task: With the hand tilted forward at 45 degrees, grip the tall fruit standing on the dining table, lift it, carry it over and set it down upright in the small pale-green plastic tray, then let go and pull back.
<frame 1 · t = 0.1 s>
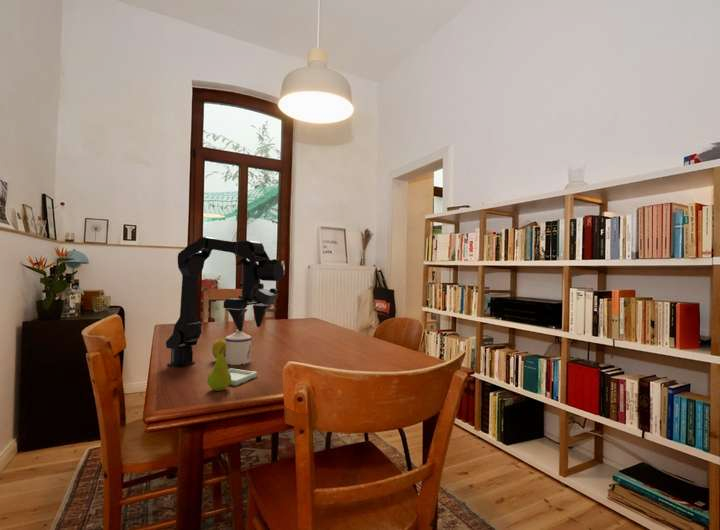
hand: (249, 328, 118), 15 cm above the table, tool pointing down, fingers open, 9 cm apart
tray: (233, 379, 113), on the table
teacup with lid: (237, 361, 134), on the table
fruit: (219, 390, 103), on the table
lemon: (220, 361, 134), on the table
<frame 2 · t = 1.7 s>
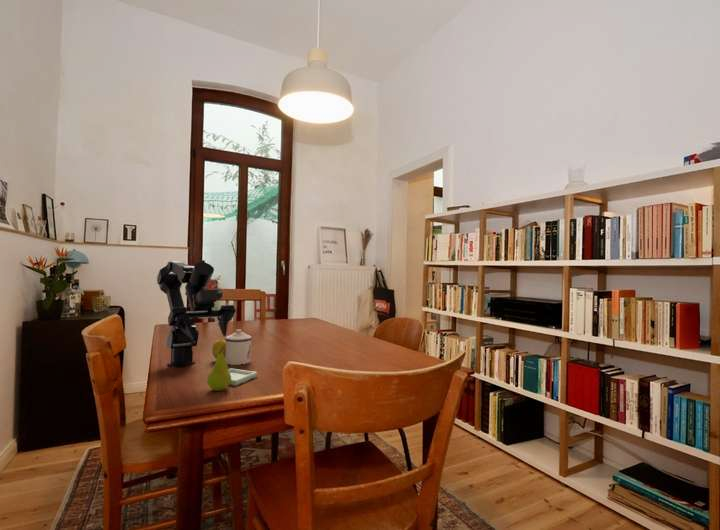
hand: (209, 337, 109), 13 cm above the table, tool tilted 45°, fingers open, 9 cm apart
nothing on the table moved.
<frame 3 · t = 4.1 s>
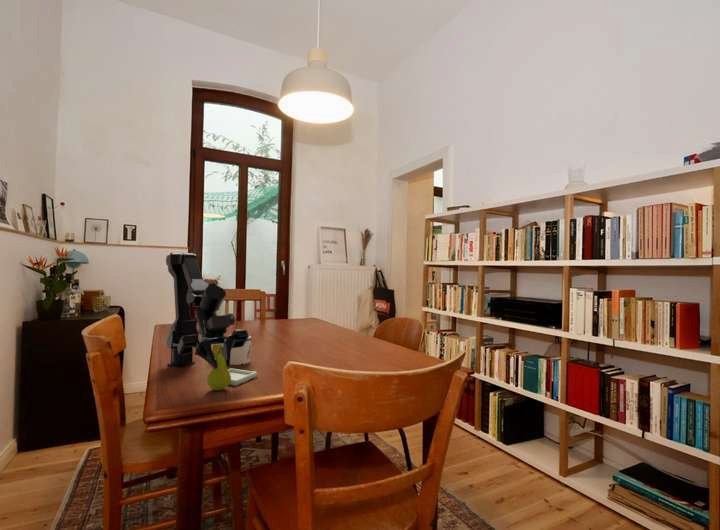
hand: (222, 366, 102), 7 cm above the table, tool tilted 45°, fingers closed on fruit, 3 cm apart
fruit: (219, 390, 103), on the table, touching gripper
everything else where it was.
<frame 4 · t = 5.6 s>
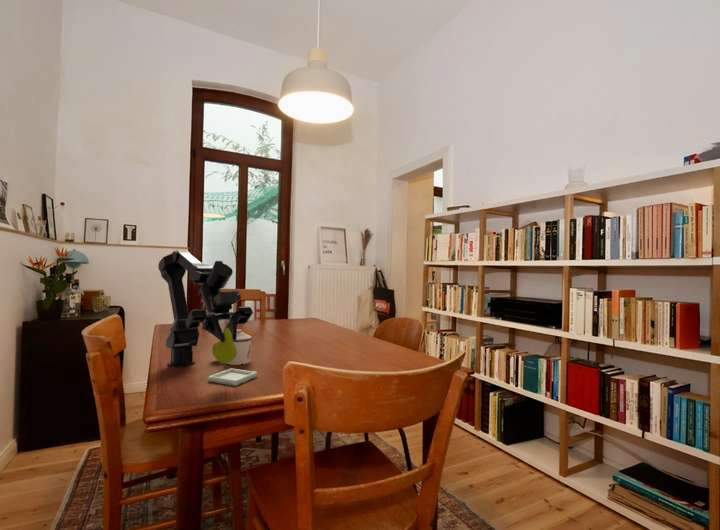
hand: (229, 340, 106), 13 cm above the table, tool tilted 45°, fingers closed on fruit, 3 cm apart
fruit: (225, 363, 107), point 6 cm above the table, touching gripper
everything else where it was.
when the fingers open (8 cm above the table, at t = 7.2 s): fruit drops 1 cm, resting on tray.
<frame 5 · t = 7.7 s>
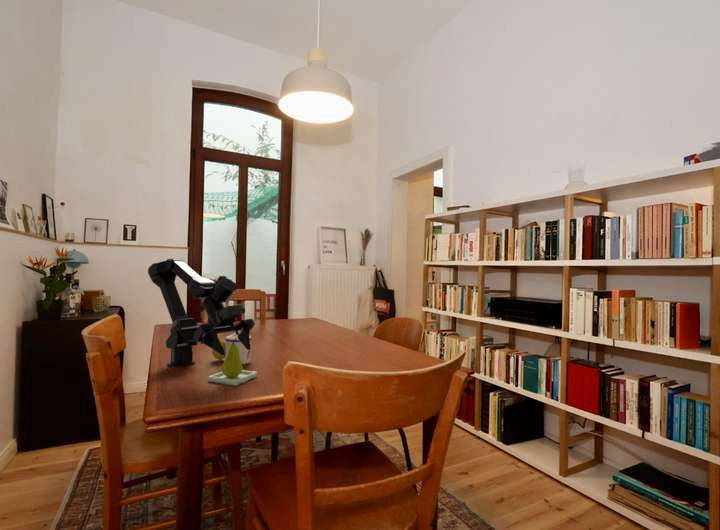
hand: (236, 351, 112), 9 cm above the table, tool tilted 45°, fingers open, 9 cm apart
fruit: (232, 377, 113), resting on tray
everything else where it was.
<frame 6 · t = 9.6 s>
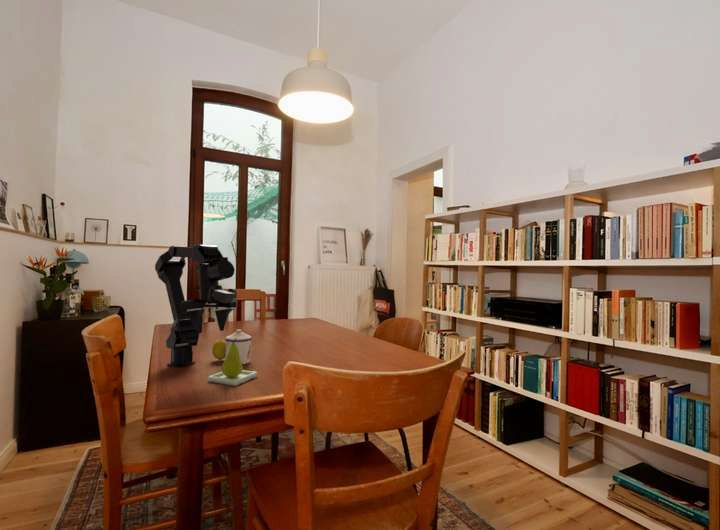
hand: (211, 332, 117), 14 cm above the table, tool pointing down, fingers open, 9 cm apart
nothing on the table moved.
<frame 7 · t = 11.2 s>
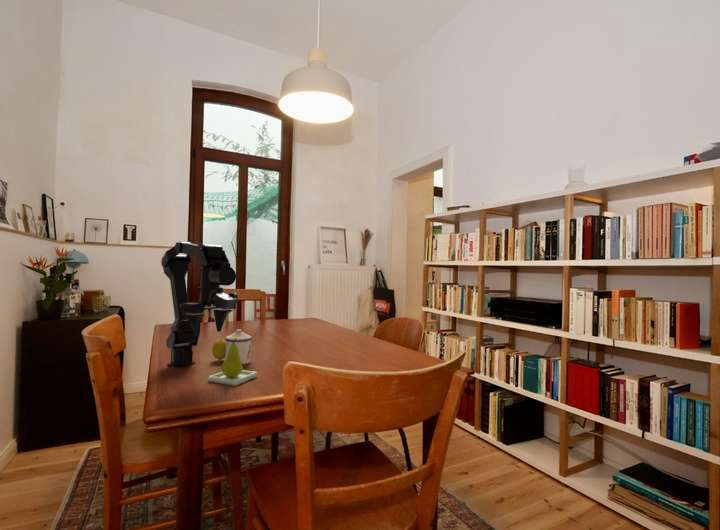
hand: (208, 333, 116), 13 cm above the table, tool pointing down, fingers open, 9 cm apart
nothing on the table moved.
at the end: fruit inside the target area on the tray (0.3 cm from its centre), point 0.4 cm above the tray's base; fruit tilted 0°; the gripper is holding nothing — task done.
